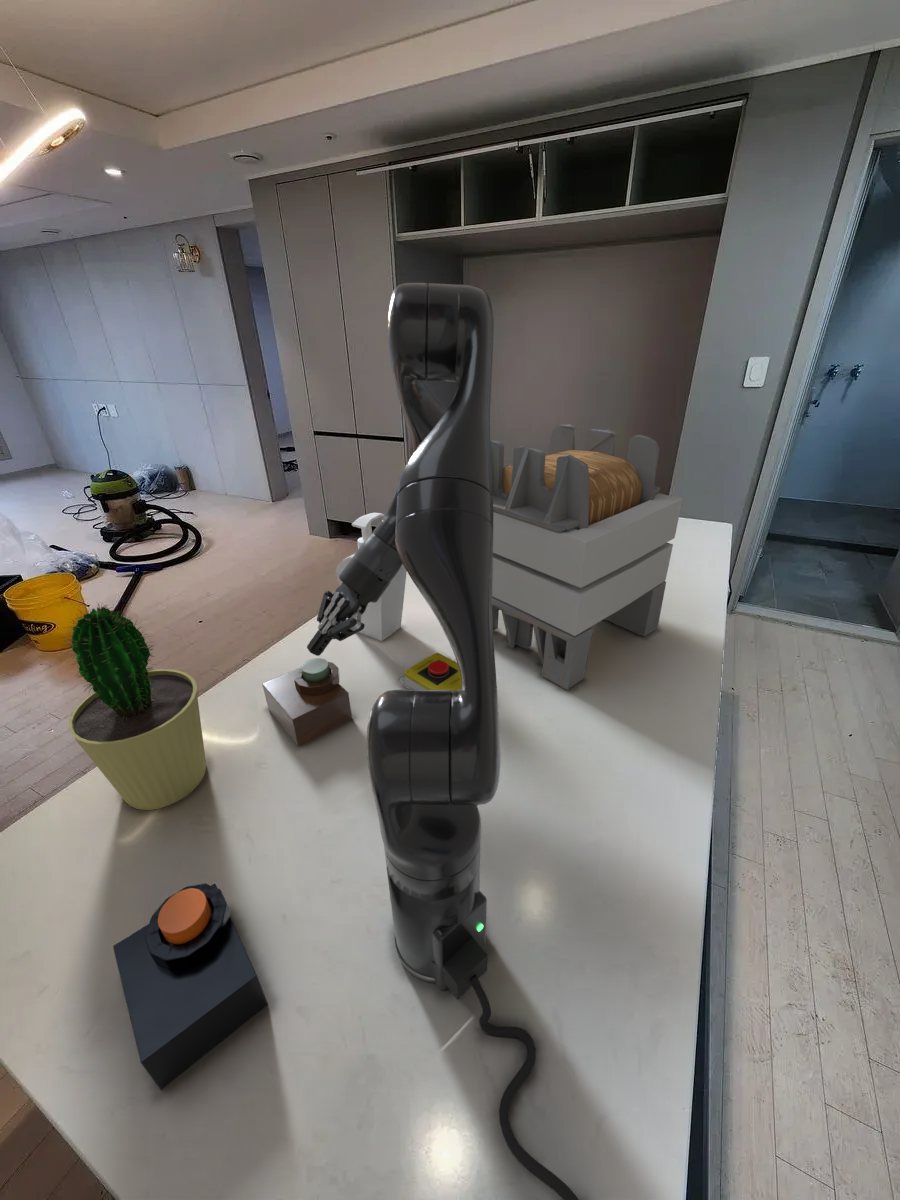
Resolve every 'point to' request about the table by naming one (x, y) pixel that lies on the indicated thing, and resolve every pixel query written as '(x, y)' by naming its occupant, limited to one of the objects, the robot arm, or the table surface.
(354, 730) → the table surface
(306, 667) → the knob back
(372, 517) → the soap bottle
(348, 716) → the block back
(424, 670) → the emergency button
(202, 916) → the knob front
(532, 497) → the transformer
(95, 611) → the potted cactus
